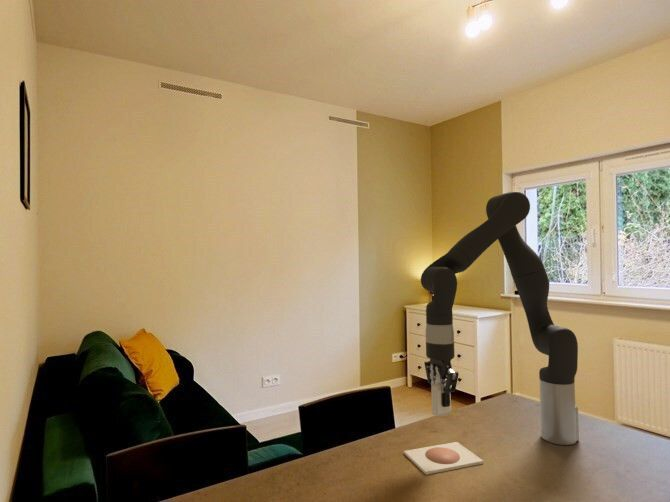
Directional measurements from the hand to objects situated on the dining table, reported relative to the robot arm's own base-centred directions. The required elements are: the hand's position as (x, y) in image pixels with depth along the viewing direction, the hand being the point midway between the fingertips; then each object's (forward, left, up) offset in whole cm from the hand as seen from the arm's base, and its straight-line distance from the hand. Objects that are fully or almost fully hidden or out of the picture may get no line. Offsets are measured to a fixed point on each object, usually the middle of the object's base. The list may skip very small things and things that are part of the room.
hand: (441, 403), depth 112 cm
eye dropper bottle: (0, 0, -3) cm, 3 cm away
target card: (0, 0, -15) cm, 15 cm away
